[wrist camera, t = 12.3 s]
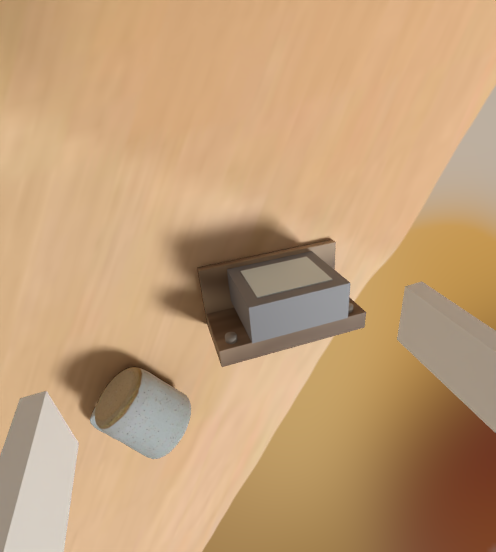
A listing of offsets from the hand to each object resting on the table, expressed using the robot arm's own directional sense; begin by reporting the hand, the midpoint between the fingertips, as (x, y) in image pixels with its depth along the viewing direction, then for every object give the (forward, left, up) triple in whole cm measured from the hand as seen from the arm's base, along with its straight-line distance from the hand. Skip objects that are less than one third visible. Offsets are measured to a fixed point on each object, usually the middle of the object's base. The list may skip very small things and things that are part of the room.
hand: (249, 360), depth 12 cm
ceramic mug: (+23, -9, -24) cm, 34 cm away
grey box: (+10, +9, -23) cm, 26 cm away
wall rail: (+11, +9, -24) cm, 28 cm away
